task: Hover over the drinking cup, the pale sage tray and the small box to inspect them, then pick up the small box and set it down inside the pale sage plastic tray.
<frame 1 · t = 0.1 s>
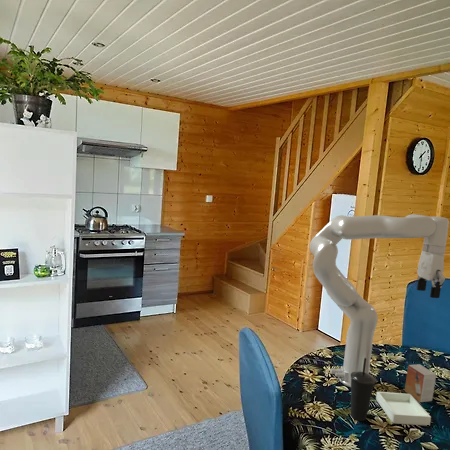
hand: (427, 293, 151), 37 cm above the table, tool pointing down, fingers open, 9 cm apart
drinking cup: (358, 417, 130), on the table
small box: (417, 396, 147), on the table
tray: (401, 411, 135), on the table
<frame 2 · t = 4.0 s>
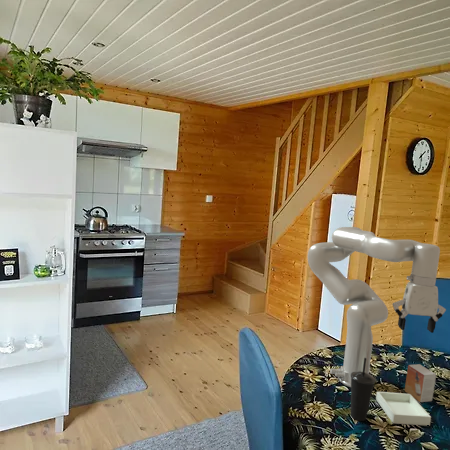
hand: (415, 329, 135), 28 cm above the table, tool pointing down, fingers open, 9 cm apart
nothing on the table moved.
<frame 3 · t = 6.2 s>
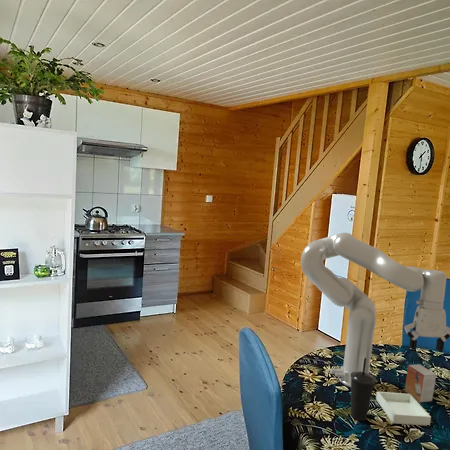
hand: (426, 350, 145), 18 cm above the table, tool pointing down, fingers open, 9 cm apart
nothing on the table moved.
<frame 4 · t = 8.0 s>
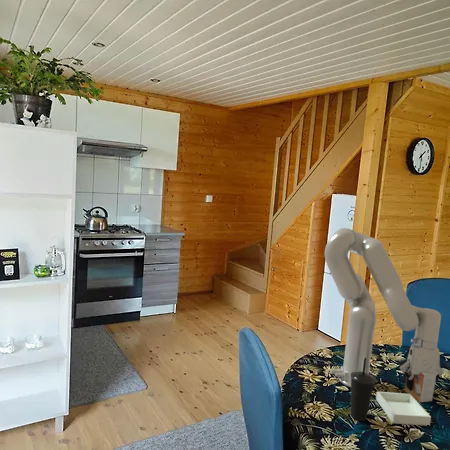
hand: (419, 389, 147), 3 cm above the table, tool pointing down, fingers closed on small box, 6 cm apart
small box: (418, 396, 147), on the table, touching gripper
everything else where it was.
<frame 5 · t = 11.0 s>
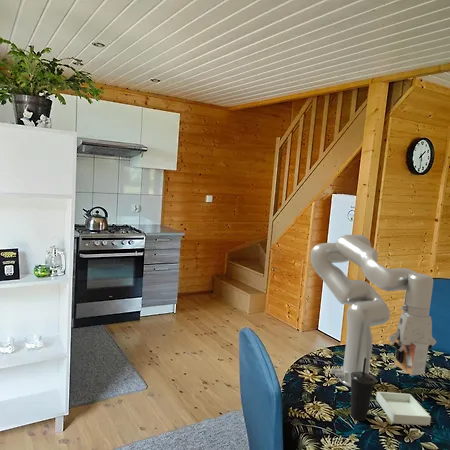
hand: (409, 361, 134), 18 cm above the table, tool pointing down, fingers closed on small box, 6 cm apart
small box: (408, 370, 134), point 15 cm above the table, touching gripper
everything else where it was.
when the fingers open (5 cm above the table, at t = 14.0 s): small box drops 2 cm, resting on tray.
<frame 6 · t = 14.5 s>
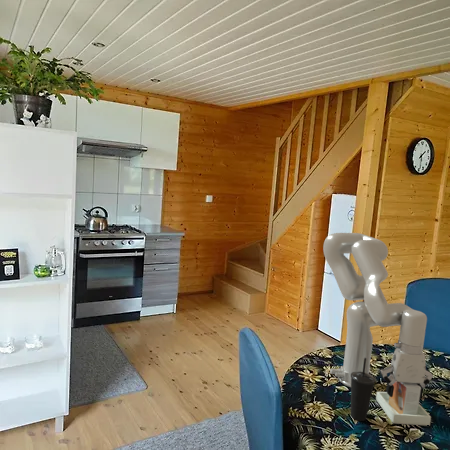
hand: (403, 395, 135), 6 cm above the table, tool pointing down, fingers open, 9 cm apart
small box: (402, 410, 135), resting on tray
everything else where it was.
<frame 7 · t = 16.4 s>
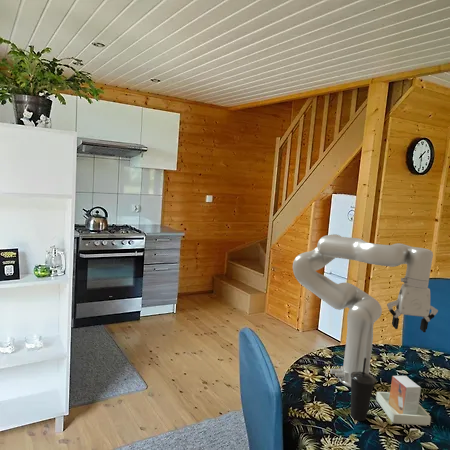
hand: (408, 329, 142), 26 cm above the table, tool pointing down, fingers open, 9 cm apart
nothing on the table moved.
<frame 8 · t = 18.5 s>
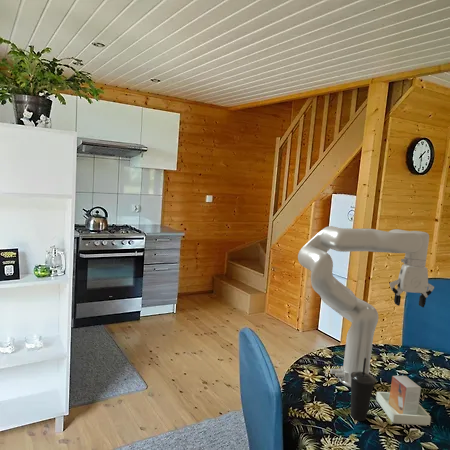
hand: (409, 305, 156), 30 cm above the table, tool pointing down, fingers open, 9 cm apart
nothing on the table moved.
at the end: small box 0.3 cm off-centre on the tray, point 0.3 cm above the tray's base; small box tilted 0°; the gripper is holding nothing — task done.
